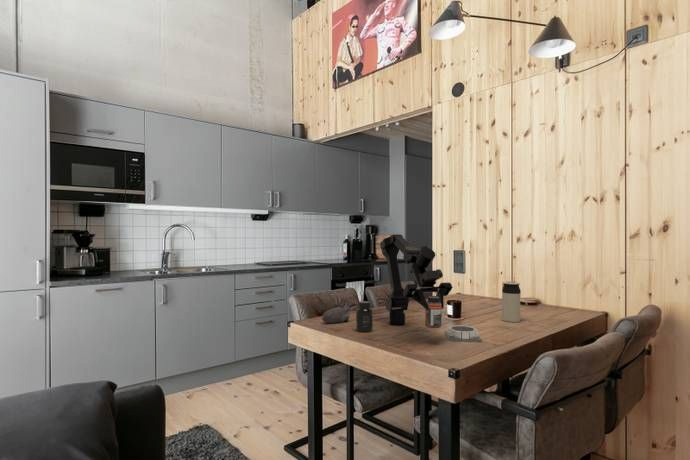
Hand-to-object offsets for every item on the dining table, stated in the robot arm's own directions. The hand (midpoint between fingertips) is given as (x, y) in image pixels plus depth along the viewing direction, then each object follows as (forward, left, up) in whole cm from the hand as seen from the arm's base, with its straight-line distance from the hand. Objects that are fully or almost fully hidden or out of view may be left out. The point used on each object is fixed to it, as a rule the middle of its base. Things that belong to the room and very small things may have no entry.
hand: (435, 308), depth 152 cm
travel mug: (+41, +44, -13) cm, 62 cm away
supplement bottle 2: (-1, +1, -7) cm, 7 cm away
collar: (+12, +11, -13) cm, 21 cm away
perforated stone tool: (-40, +32, -14) cm, 53 cm away
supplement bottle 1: (-27, +18, -13) cm, 35 cm away
